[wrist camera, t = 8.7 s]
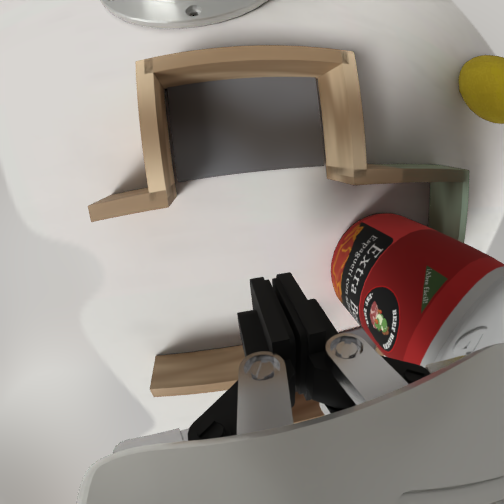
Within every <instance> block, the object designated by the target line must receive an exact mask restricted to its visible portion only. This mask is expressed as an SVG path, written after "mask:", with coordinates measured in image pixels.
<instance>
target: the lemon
mask: <svg viewBox="0 0 504 504" xmlns="http://www.w3.org/2000/svg"><path fill="white" fill-rule="evenodd" d="M459 88H460V89H459V91H460V93H461V95H462V97H463V99H464V101H465V103H466V104H467V106H468V107H469V108H470V109H471V110H472V111H473V112H474V113H475V114H476V115H478V116H479V117H481V118H483V119H485V120H487V121H490V122H493V123H500V124H504V58H503V57H499V56H491V55H482V56H477V57H475V58H472V59H471V60H469V61H468V62H466V63H465V64H464V66H463V67H462V69H461V71H460V75H459Z"/></svg>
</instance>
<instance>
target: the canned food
mask: <svg viewBox="0 0 504 504" xmlns="http://www.w3.org/2000/svg"><path fill="white" fill-rule="evenodd" d="M331 277H332V283H333V287H334V290H335V292H336V295H337V297H338V298H339V300H340V301H341V303H342V304H343V305H344V306H345V308H346V309H347V310H348V311H349V312H350V314H351V315H352V316H353V317H354V319H355V320H356V321H357V322H358V323H359V325H360V326H361V327H362V328H363V330H364V331H365V332H366V333H367V335H368V336H369V337H370V338H371V340H372V341H373V342H374V343H375V345H376V346H377V347H378V348H379V350H380V351H381V352H382V354H383V355H384V356H385V357H389V358H393V359H397V360H401V361H405V362H409V363H413V364H417V365H420V366H423V367H424V368H425V366H426V364H431V363H435V362H439V361H443V360H447V359H451V358H455V357H458V356H462V355H468V354H470V353H472V352H474V351H477V350H479V349H482V348H484V347H487V346H490V345H494V344H499V343H504V264H503V263H501V262H499V261H497V260H496V259H494V258H492V257H490V256H489V255H487V254H485V253H483V252H481V251H479V250H477V249H475V248H473V247H471V246H469V245H467V244H464V243H462V242H460V241H458V240H456V239H454V238H452V237H450V236H447V235H445V234H443V233H441V232H438V231H436V230H434V229H432V228H429V227H427V226H425V225H422V224H420V223H418V222H415V221H413V220H410V219H408V218H405V217H403V216H401V215H397V214H393V213H383V214H375V215H371V216H368V217H365V218H363V219H361V220H359V221H358V222H357V223H355V224H354V225H353V226H351V227H350V228H349V229H348V230H347V232H346V233H345V234H344V235H343V237H342V238H341V239H340V241H339V242H338V245H337V247H336V249H335V251H334V254H333V258H332V262H331Z"/></svg>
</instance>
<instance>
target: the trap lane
mask: <svg viewBox="0 0 504 504" xmlns="http://www.w3.org/2000/svg"><path fill="white" fill-rule="evenodd" d="M316 78H317V80H318V87H319V95H320V104H321V113H322V122H323V133H324V144H325V157H326V172H327V179H331V180H335V181H339V182H343V183H347V184H351V185H367V184H386V183H410V182H430V206H429V223H428V227H429V228H432V229H434V230H436V231H438V232H441V233H443V234H445V235H447V236H450V237H452V238H454V239H456V240H458V241H460V242H462V243H464V239H465V231H466V222H467V210H468V195H469V170H465V169H460V168H454V167H448V166H442V165H433V164H367V163H366V145H365V132H364V121H363V111H362V102H361V94H360V87H359V80H358V73H357V67H356V61H355V55H354V52H352V51H345V50H338V49H329V48H318V47H305V46H280V45H259V46H234V47H221V48H210V49H202V50H194V51H187V52H180V53H174V54H169V55H163V56H158V57H153V58H149V59H144V60H140V61H136V82H137V97H138V110H139V121H140V130H141V139H142V148H143V156H144V163H145V170H146V177H147V184H148V187H147V188H142V189H137V190H132V191H127V192H123V193H118V194H113V195H110V196H108V197H106V198H103V199H101V200H99V201H97V202H95V203H93V204H91V205H89V206H88V209H89V214H90V219H91V222H94V221H99V220H104V219H108V218H113V217H118V216H123V215H128V214H134V213H139V212H144V211H150V210H156V209H161V208H167V207H169V206H170V205H171V203H172V202H173V201H174V199H175V198H176V197H177V193H176V186H175V180H174V172H173V165H172V158H171V150H170V141H169V133H168V123H167V114H166V103H165V91H164V89H167V90H168V102H169V112H170V122H171V132H172V140H173V149H174V157H175V164H176V172H177V179H178V182H183V181H189V180H195V179H202V178H209V177H216V176H223V175H231V174H239V173H247V172H257V171H266V170H277V169H288V168H301V167H315V166H324V153H323V141H322V130H321V120H320V110H319V101H318V93H317V85H316ZM341 333H351V334H355V335H358V336H360V337H361V338H363V339H364V340H365V341H366V342H367V343H368V344H369V345H370V346H371V347H372V348H373V349H374V350H375V348H376V352H377V353H378V354H379V355H381V356H384V355H383V354H382V352H381V351H380V350H379V348H378V347H377V346H376V345H375V343H374V342H373V341H372V340H371V338H370V337H369V336H368V335H367V333H366V332H365V331H364V330H363V328H362V327H360V328H356V329H352V330H349V331H345V332H341ZM341 333H338V334H341ZM244 358H245V355H244V350H243V345H239V346H233V347H226V348H219V349H212V350H204V351H197V352H188V353H179V354H170V355H159V356H156V357H155V363H154V368H153V374H152V379H151V385H150V390H151V392H152V394H153V396H154V397H162V396H176V395H188V394H198V393H207V392H215V391H223V390H228V389H229V388H230V387H231V386H232V385H233V384H234V383H235V382H236V381H237V380H238V373H239V365H240V363H241V361H242V360H243V359H244ZM324 415H325V414H324V413H323V411H322V410H321V408H320V405H319V402H317V401H314V400H308V401H306V399H305V397H304V394H300V395H299V394H298V392H297V389H296V387H295V404H294V406H293V407H292V416H293V424H295V423H299V422H303V421H306V420H310V419H314V418H317V417H321V416H324Z"/></svg>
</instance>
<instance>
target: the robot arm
mask: <svg viewBox="0 0 504 504" xmlns="http://www.w3.org/2000/svg"><path fill="white" fill-rule="evenodd" d="M100 1H101V2H102V4H103V5H104V6H105V8H106V9H108V10H109V11H110V12H111V13H112V14H113V15H114V16H116V17H118V18H120V19H122V20H124V21H126V22H129V23H132V24H136V25H139V26H144V27H152V28H159V29H181V28H190V27H200V26H205V25H209V24H214V23H220V22H223V21H226V20H229V19H232V18H235V17H238V16H241V15H243V14H245V13H247V12H249V11H251V10H254V9H256V8H257V7H259V6H260V5H262V4H263V3H265V2H266V1H268V0H100ZM191 15H197V16H191ZM272 285H273V287H272ZM272 285H271V283H270V281H269V280H264V278H263V277H260V278H253V279H250V287H251V296H252V305H253V310H251V311H245V312H239V313H237V315H238V322H239V328H240V334H241V340H242V345H243V350H244V355H245V358H244V359H243V360H242V361H241V363H240V365H239V373H238V380H237V381H236V382H235V383H234V384H233V385H232V386H231V387H230V388H229V389H228V390H227V391H226V392H225V393H224V394H223V395H222V396H221V397H220V398H219V399H218V400H217V401H216V402H215V403H214V404H213V405H212V406H211V407H210V408H209V409H208V410H207V411H205V412H204V413H203V414H202V415H201V416H200V417H199V418H198V419H197V420H196V421H195V422H194V423H193V424H192V425H191V426H190V428H189V429H185V430H182V431H180V429H179V428H178V429H174V430H170V431H166V432H162V433H157V434H153V435H148V436H144V437H139V438H134V439H128V440H125V441H122V442H120V443H119V444H118V445H117V446H116V447H115V449H114V450H113V454H111V455H108V456H106V457H104V458H102V459H100V460H98V461H96V462H95V463H94V464H92V465H91V467H90V468H89V469H88V470H87V472H86V474H85V475H84V478H83V480H82V483H81V486H80V489H79V493H78V498H77V503H76V504H504V343H499V344H494V345H490V346H487V347H484V348H482V349H479V350H477V351H474V352H472V353H470V354H468V355H462V356H458V357H455V358H451V359H447V360H443V361H439V362H435V363H431V364H426V366H425V368H424V367H423V366H420V365H417V364H413V363H409V362H405V361H401V360H397V359H393V358H389V357H385V356H381V355H379V354H378V353H377V352H376V351H375V350H374V349H373V348H372V347H371V346H370V345H369V344H368V343H367V342H366V341H365V340H364V339H363V338H361V337H360V336H358V335H355V334H351V333H341V334H338V332H337V331H336V329H335V328H334V326H333V325H332V323H331V322H330V320H329V319H328V317H327V315H326V314H325V312H324V311H323V309H322V308H321V306H320V305H319V303H318V302H317V301H316V299H310V300H307V298H306V297H305V295H304V293H303V292H302V290H301V289H300V287H299V285H298V284H297V282H296V281H295V279H294V277H293V276H292V274H291V273H290V272H289V273H283V274H277V276H276V278H274V279H272ZM295 387H296V389H297V392H298V394H299V395H300V394H304V397H305V399H306V401H308V400H314V401H317V402H319V405H320V408H321V410H322V411H323V413H324V414H325V415H324V416H321V417H317V418H314V419H310V420H306V421H303V422H299V423H295V424H293V416H292V407H293V406H294V404H295Z"/></svg>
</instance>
